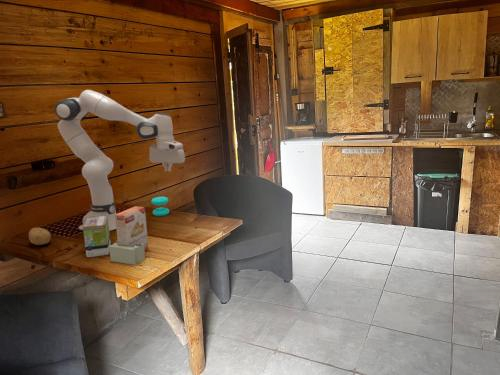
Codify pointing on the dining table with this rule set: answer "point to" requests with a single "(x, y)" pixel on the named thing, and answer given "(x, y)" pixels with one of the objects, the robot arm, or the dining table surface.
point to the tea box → (96, 236)
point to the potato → (39, 236)
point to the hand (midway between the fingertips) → (168, 171)
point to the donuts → (161, 210)
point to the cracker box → (132, 227)
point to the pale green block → (127, 253)
